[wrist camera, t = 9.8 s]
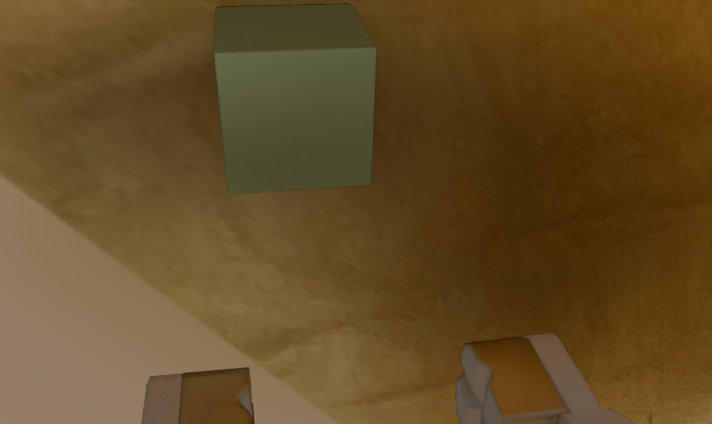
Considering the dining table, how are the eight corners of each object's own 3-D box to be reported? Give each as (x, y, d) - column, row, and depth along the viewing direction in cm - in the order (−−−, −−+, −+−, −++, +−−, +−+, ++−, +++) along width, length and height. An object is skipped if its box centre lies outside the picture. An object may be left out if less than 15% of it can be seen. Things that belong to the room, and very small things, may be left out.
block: (351, 3, 21) (377, 47, 18) (348, 124, 24) (371, 185, 20) (215, 6, 20) (213, 53, 17) (227, 131, 23) (227, 195, 19)
